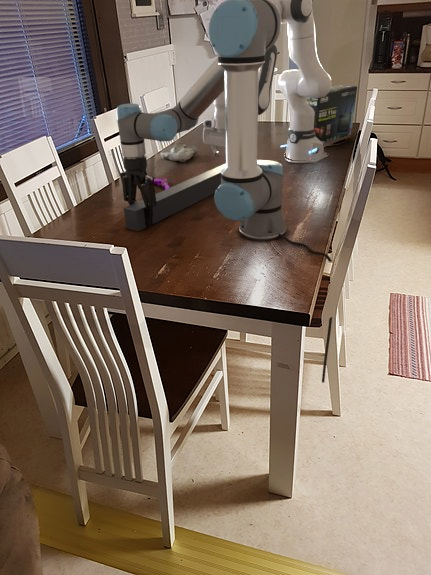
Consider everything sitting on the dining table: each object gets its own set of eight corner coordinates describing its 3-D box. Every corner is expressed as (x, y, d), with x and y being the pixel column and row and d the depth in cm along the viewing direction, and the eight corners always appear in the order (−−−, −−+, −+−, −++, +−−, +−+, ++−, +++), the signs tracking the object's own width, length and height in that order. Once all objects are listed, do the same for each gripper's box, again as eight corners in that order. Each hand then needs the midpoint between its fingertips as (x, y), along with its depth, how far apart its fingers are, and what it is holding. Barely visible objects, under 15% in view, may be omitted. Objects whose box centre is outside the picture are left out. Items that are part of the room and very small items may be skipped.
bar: (138, 231, 154) (135, 211, 150) (126, 227, 157) (123, 207, 153) (239, 180, 196) (239, 164, 192) (228, 178, 198) (228, 162, 195)
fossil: (184, 156, 217) (163, 136, 220) (174, 174, 223) (154, 154, 227) (205, 153, 231) (186, 134, 234) (195, 171, 237) (176, 152, 240)
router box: (314, 151, 231) (318, 94, 217) (296, 148, 237) (299, 92, 224) (352, 138, 251) (358, 85, 238) (335, 135, 258) (340, 83, 245)
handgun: (149, 183, 197) (148, 178, 196) (167, 181, 198) (166, 176, 197) (152, 198, 180) (152, 194, 179) (172, 196, 181) (171, 191, 180)
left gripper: (163, 156, 144) (170, 225, 156) (122, 149, 154) (131, 214, 166) (147, 162, 139) (155, 232, 151) (105, 155, 149) (116, 221, 161)
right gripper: (251, 123, 177) (251, 159, 184) (209, 118, 188) (210, 153, 195) (242, 126, 173) (242, 163, 180) (200, 121, 184) (201, 156, 191)
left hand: (142, 223), depth 159 cm, fingers closed on bar, 6 cm apart
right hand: (225, 157), depth 188 cm, fingers open, 8 cm apart
